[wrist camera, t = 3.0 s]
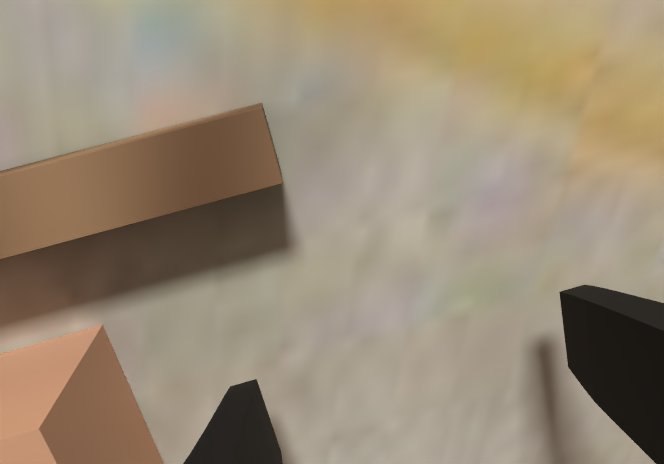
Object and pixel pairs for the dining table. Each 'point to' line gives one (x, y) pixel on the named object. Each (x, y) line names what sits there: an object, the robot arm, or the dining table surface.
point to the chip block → (70, 405)
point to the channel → (135, 179)
